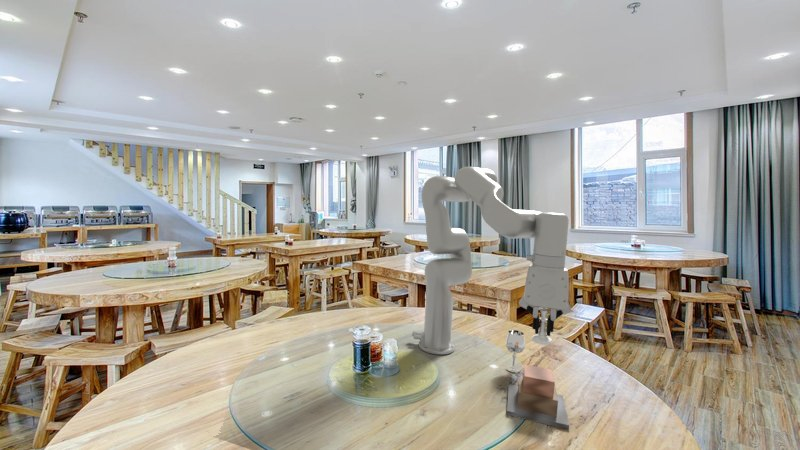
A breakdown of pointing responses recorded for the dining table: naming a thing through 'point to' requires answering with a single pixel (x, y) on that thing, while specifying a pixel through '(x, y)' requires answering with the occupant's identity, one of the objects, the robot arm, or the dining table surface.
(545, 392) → the stepped pedestal
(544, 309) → the chess piece
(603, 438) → the dining table surface
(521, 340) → the wineglass
